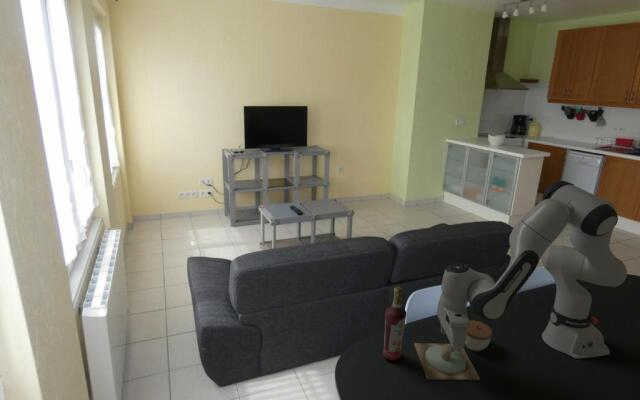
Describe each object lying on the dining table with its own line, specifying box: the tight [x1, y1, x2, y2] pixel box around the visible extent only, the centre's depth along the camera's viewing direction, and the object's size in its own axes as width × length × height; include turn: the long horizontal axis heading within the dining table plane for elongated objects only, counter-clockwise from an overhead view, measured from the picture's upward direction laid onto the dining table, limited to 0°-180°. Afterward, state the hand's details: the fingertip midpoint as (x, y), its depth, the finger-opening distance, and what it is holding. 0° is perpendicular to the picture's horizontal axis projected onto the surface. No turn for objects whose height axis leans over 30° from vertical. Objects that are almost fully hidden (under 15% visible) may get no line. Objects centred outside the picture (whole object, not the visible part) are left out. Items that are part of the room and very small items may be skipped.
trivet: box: [414, 342, 481, 381], centre depth 137 cm, size 18×18×1 cm
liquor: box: [381, 286, 407, 362], centre depth 135 cm, size 7×7×28 cm
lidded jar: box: [465, 319, 493, 352], centre depth 145 cm, size 11×11×9 cm
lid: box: [425, 345, 466, 374], centre depth 136 cm, size 14×14×5 cm
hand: (447, 341), depth 136 cm, fingers open, 8 cm apart
